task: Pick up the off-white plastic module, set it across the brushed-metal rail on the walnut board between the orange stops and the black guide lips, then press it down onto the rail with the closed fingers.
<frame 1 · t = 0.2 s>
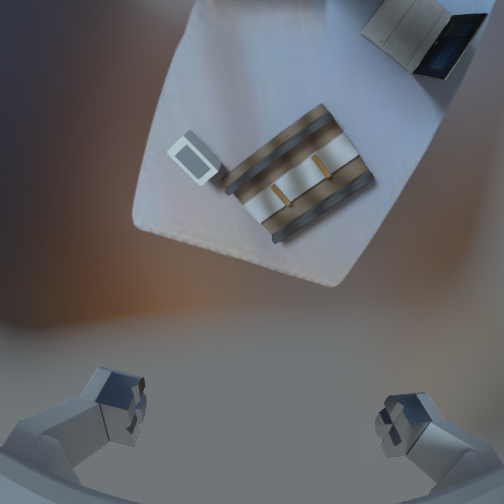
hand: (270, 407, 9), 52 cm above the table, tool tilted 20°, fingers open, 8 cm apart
rail board: (299, 175, 58), on the table
module: (197, 153, 56), on the table
laptop: (408, 22, 38), on the table
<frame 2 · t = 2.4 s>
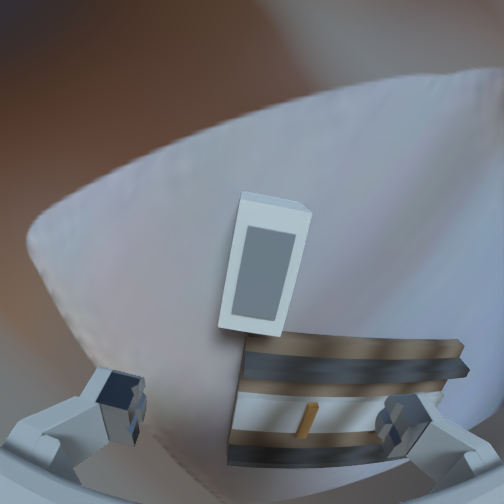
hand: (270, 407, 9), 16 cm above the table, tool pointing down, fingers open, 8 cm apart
rail board: (344, 403, 30), on the table
module: (259, 251, 25), on the table
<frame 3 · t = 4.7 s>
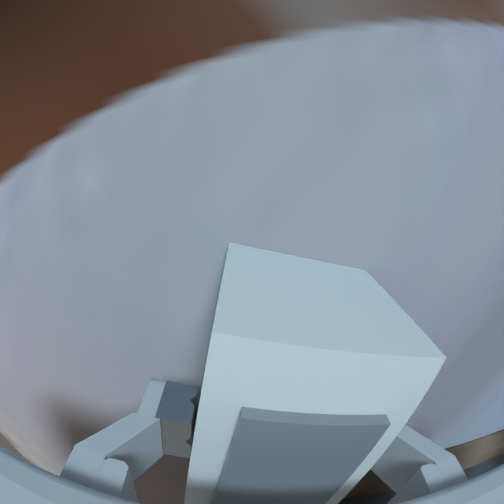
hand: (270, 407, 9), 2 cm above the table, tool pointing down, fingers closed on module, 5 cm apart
module: (267, 371, 11), on the table, touching gripper
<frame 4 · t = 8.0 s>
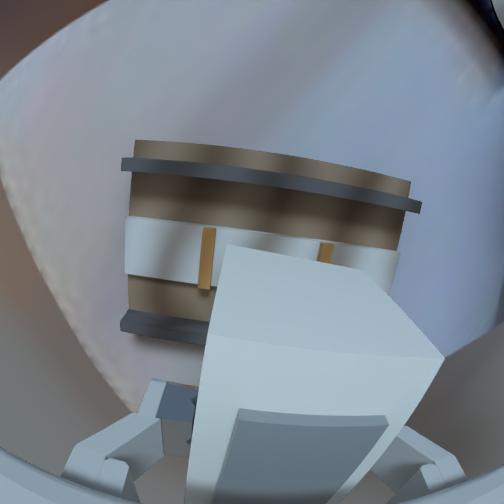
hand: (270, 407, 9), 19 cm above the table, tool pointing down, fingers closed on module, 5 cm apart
rail board: (263, 255, 28), on the table
module: (266, 371, 11), point 17 cm above the table, touching gripper
when the fingers open (5 cm above the table, at t = 11.2 s): module stays where it is, resting on rail board.
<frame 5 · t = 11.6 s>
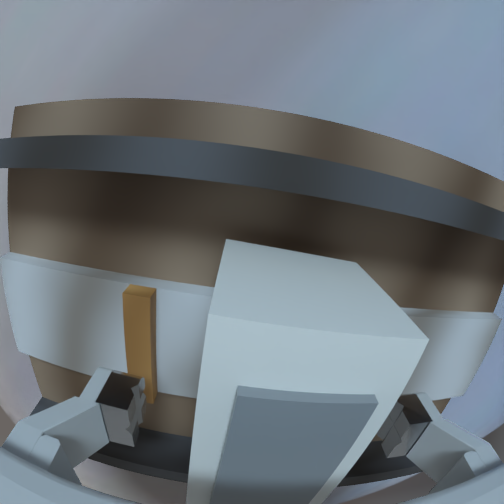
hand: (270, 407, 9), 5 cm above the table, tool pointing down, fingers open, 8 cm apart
rail board: (262, 330, 13), on the table
module: (265, 361, 11), point 2 cm above the table, touching rail board
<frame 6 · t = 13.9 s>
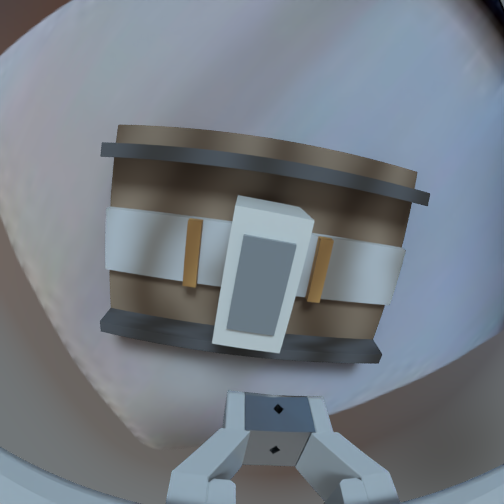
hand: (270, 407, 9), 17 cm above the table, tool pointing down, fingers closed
rail board: (255, 251, 25), on the table
module: (257, 260, 23), point 2 cm above the table, touching rail board
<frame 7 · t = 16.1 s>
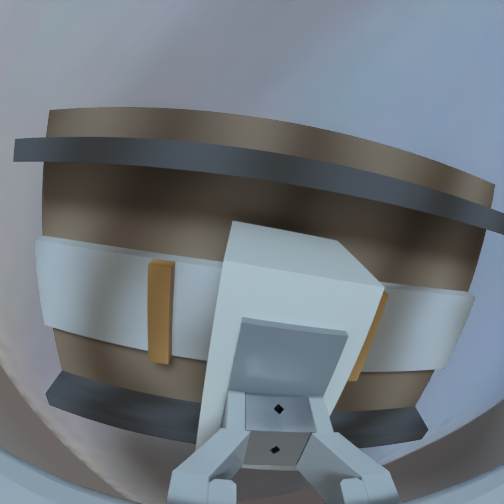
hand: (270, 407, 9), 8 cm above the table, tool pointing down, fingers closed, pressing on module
rail board: (261, 302, 16), on the table
module: (264, 324, 14), point 2 cm above the table, touching gripper, rail board
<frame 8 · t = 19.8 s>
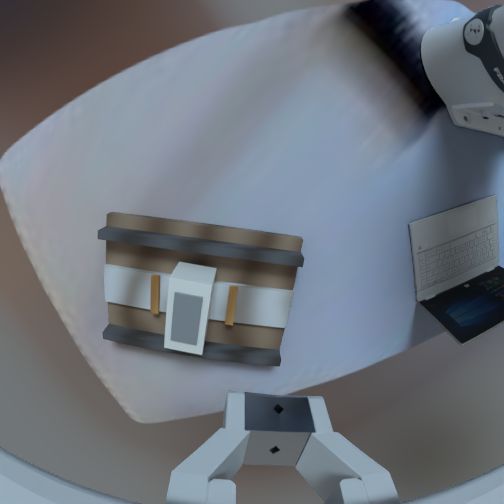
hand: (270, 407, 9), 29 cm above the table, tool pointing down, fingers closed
rail board: (195, 291, 39), on the table
module: (193, 298, 37), point 2 cm above the table, touching rail board
laptop: (458, 246, 39), on the table
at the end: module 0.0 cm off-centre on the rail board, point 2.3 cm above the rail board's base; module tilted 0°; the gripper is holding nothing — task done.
